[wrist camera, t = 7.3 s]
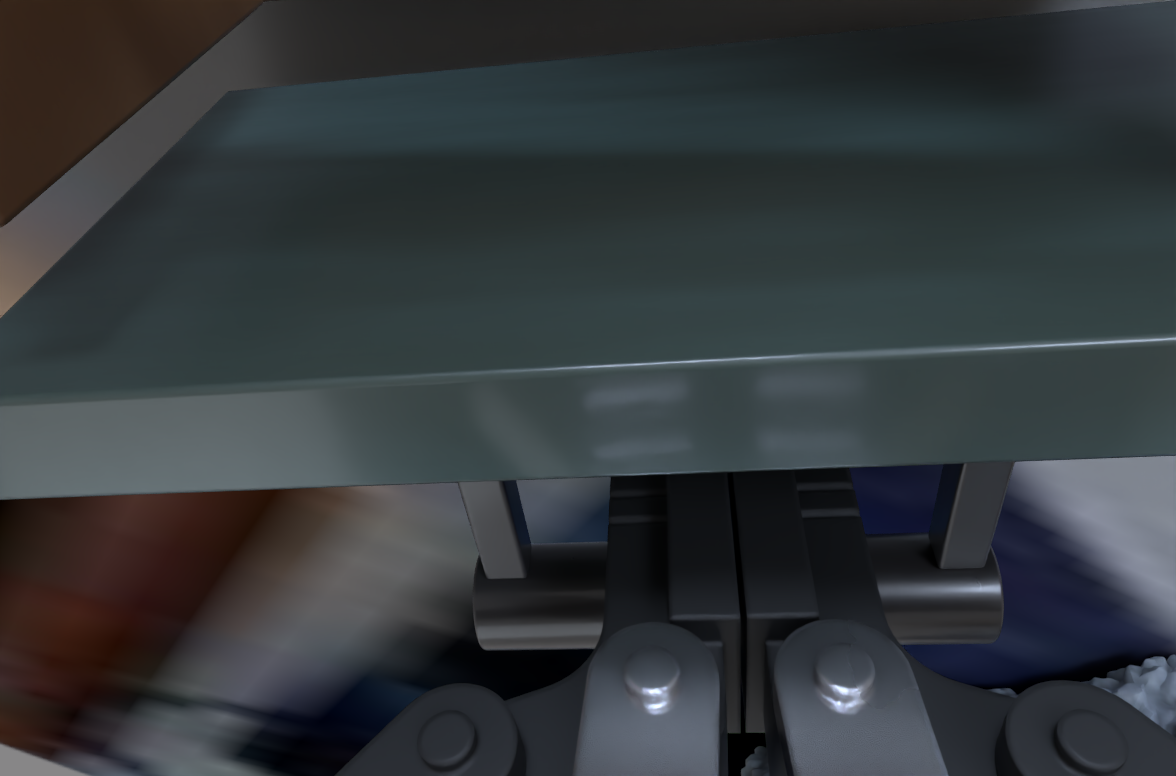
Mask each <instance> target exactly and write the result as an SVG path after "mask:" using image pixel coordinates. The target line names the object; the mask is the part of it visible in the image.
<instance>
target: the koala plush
mask: <svg viewBox="0 0 1176 776" xmlns="http://www.w3.org/2000/svg"><path fill="white" fill-rule="evenodd" d="M1082 683H1086V684H1091V685H1093V686H1096V687H1099V688H1102V689H1104V690H1106V691H1108V692H1110V693H1112V694H1114V695H1116V696H1118V697H1120V698H1121V699H1123V700H1124V701H1126V702H1128V703H1129V704H1131V705H1132V706H1133V707H1135V708H1136V709H1137V710H1139V711H1140V712H1142V713H1143V714H1144V715H1146V716H1147V717H1148V718H1150V719H1151V720H1152V721H1154V722H1155V723H1157V724H1158V725H1159V726H1161V727H1162V728H1163V729H1165V730H1166V731H1168V732H1169V733H1170V734H1172V735H1173V736H1174V737H1176V655H1170V656H1169V658H1168V659H1167V661H1166V659H1165V658H1164V657H1156V656H1155V657H1152V658H1148V659H1145V660H1144V661H1143V663H1142V665H1141V667H1139V666H1134V665H1129V666H1127V667H1126V668H1120V669H1118V670H1115V671H1110V672H1108V673H1107V678H1105V679H1101V678H1096V677H1094V678H1093V679H1092V680H1091V681H1085V682H1082ZM989 691H992V692H996V693H999V694H1003V695H1006V696H1010V697H1013V698H1017V696H1018V695H1019V694H1018V695H1017V694H1016V693H1015V692H1014V691H1013V690H1012V689H1010V688H1000V689H989ZM741 776H769V767H768V757H767V748H765V747H763V746H758V747H757V748H756V749H755V754H751V755H750V756H749V757H748V758H747V759H746V766H745V767H744V768H743V769H741Z"/></svg>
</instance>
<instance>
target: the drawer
mask: <svg viewBox="0 0 1176 776" xmlns="http://www.w3.org/2000/svg"><path fill="white" fill-rule="evenodd" d="M269 1H278V0H0V227H3V226H4V225H6V224H7V223H8V222H10V221H11V220H12V219H13V218H14V217H15V216H17V215H18V214H19V213H20V212H21V211H22V210H24V209H25V208H26V207H27V206H28V205H29V204H30V203H32V202H33V201H34V200H35V199H36V198H37V197H39V196H40V195H41V194H42V193H43V192H44V191H46V190H47V189H48V188H49V187H50V186H51V185H53V184H54V183H55V182H56V181H57V180H58V179H60V178H61V177H62V176H63V175H64V174H65V173H67V172H68V171H69V170H70V169H71V168H72V167H73V166H75V165H76V164H77V163H78V162H79V161H80V160H82V159H83V158H84V157H85V156H86V155H87V154H89V153H90V152H91V151H92V150H93V149H94V148H96V147H97V146H98V145H99V144H100V143H101V142H103V141H104V140H105V139H106V138H107V137H108V136H110V135H111V134H112V133H113V132H114V131H115V130H116V129H118V128H119V127H120V126H121V125H122V124H123V123H125V122H126V121H127V120H128V119H129V118H130V117H132V116H133V115H134V114H135V113H136V112H137V111H139V110H140V109H141V108H142V107H143V106H144V105H146V104H147V103H148V102H149V101H150V100H151V99H153V98H154V97H155V96H156V95H157V94H158V93H159V92H161V91H162V90H163V89H164V88H165V87H166V86H168V85H169V84H170V83H171V82H172V81H173V80H175V79H176V78H177V77H178V76H179V75H180V74H182V73H183V72H184V71H185V70H186V69H187V68H189V67H190V66H191V65H192V64H193V63H194V62H196V61H197V60H198V59H199V58H200V57H201V56H202V55H204V54H205V53H206V52H207V51H208V50H209V49H211V48H212V47H213V46H214V45H215V44H216V43H218V42H219V41H220V40H221V39H222V38H223V37H225V36H226V35H227V34H228V33H229V32H230V31H232V30H233V29H234V28H235V27H236V26H237V25H239V24H240V23H241V22H242V21H243V20H244V19H245V18H247V17H248V16H249V15H250V14H251V13H252V12H254V11H255V10H256V9H257V8H258V7H259V6H261V5H262V4H263V2H269ZM1150 456H1176V0H1175V1H1165V2H1154V3H1144V4H1134V5H1123V6H1113V7H1102V8H1092V9H1081V10H1071V11H1061V12H1050V13H1040V14H1029V15H1019V16H1009V17H998V18H988V19H977V20H967V21H956V22H946V23H936V24H925V25H915V26H904V27H894V28H883V29H873V30H863V31H852V32H842V33H831V34H821V35H811V36H800V37H790V38H779V39H769V40H758V41H748V42H738V43H727V44H717V45H706V46H696V47H685V48H675V49H665V50H654V51H644V52H633V53H623V54H613V55H602V56H592V57H581V58H571V59H560V60H550V61H540V62H529V63H519V64H508V65H498V66H487V67H477V68H467V69H456V70H446V71H435V72H425V73H415V74H404V75H394V76H383V77H373V78H362V79H352V80H342V81H331V82H321V83H310V84H300V85H289V86H279V87H269V88H258V89H248V90H237V91H229V92H227V93H226V94H225V95H224V96H223V97H222V98H221V99H220V100H219V101H218V102H217V103H216V104H215V105H214V106H213V107H212V108H211V109H210V110H209V111H208V112H207V113H206V114H205V115H204V116H203V117H202V118H201V119H200V120H199V121H198V122H197V123H196V124H195V125H194V126H193V127H192V128H191V129H190V130H189V131H188V132H187V133H186V134H185V135H184V136H183V137H182V138H181V139H180V140H179V141H178V142H177V143H176V144H175V145H174V146H173V147H172V148H171V149H170V150H169V151H168V152H167V153H166V154H165V155H164V156H163V157H162V158H161V159H160V160H159V161H158V162H157V163H156V164H155V165H154V166H153V167H152V168H151V169H150V170H149V171H148V172H147V173H146V174H145V175H144V176H143V177H142V178H141V179H140V180H139V181H138V182H137V183H136V184H135V185H134V186H133V187H132V188H131V189H130V190H129V191H128V192H127V193H126V194H125V195H124V196H123V197H121V198H120V199H119V200H118V201H117V202H116V203H115V204H114V205H113V206H112V207H111V208H110V209H109V210H108V211H107V212H106V213H105V214H104V215H103V216H102V217H101V218H100V219H99V220H98V221H97V222H96V223H95V224H94V225H93V226H92V227H91V228H90V229H89V230H88V231H87V232H86V233H85V234H84V235H83V236H82V237H81V238H80V239H79V240H78V241H77V242H76V243H75V244H74V245H73V246H72V247H71V248H70V249H69V250H68V251H67V252H66V253H65V254H64V255H63V256H62V257H61V258H60V259H59V260H58V261H57V262H56V263H55V264H54V265H53V266H52V267H51V268H50V269H49V270H48V271H47V272H46V273H45V274H44V275H43V276H42V277H41V278H40V279H39V280H38V281H37V282H36V283H35V284H34V285H33V286H32V287H31V288H30V289H29V290H28V291H27V292H26V293H25V294H24V295H23V296H22V297H21V298H20V299H19V300H18V301H17V302H16V303H15V304H14V305H13V306H12V307H11V308H10V309H9V310H8V311H7V312H6V313H5V314H4V315H3V316H2V317H1V318H0V500H2V499H29V498H55V497H82V496H109V495H135V494H162V493H189V492H216V491H242V490H269V489H296V488H322V487H349V486H376V485H402V484H429V483H456V482H457V483H458V486H459V489H460V493H461V496H462V499H463V502H464V506H465V509H466V512H467V516H468V519H469V522H470V526H471V529H472V532H473V535H474V539H475V542H476V545H477V549H478V552H479V556H478V559H477V563H476V568H475V574H474V583H473V616H474V625H475V630H476V635H477V638H478V641H479V644H480V646H481V647H482V648H483V649H484V650H556V649H595V647H596V645H597V643H598V641H599V638H600V635H601V632H602V627H603V620H604V601H605V581H606V562H607V542H575V543H540V544H531V542H530V538H529V533H528V529H527V525H526V521H525V517H524V513H523V509H522V504H521V500H520V496H519V492H518V488H517V484H516V480H536V479H563V478H589V477H616V476H643V475H669V474H696V473H723V472H750V471H776V470H803V469H830V468H856V467H883V466H910V465H936V464H944V465H943V470H942V474H941V479H940V484H939V488H938V493H937V498H936V502H935V507H934V512H933V516H932V521H931V526H930V530H929V532H927V533H892V534H865V536H866V540H867V544H868V548H869V552H870V556H871V560H872V564H873V569H874V573H875V577H876V581H877V585H878V589H879V593H880V597H881V601H882V605H883V610H884V614H885V617H886V620H887V623H888V626H889V627H890V629H891V631H892V633H893V635H894V636H895V638H896V639H897V641H898V642H899V643H900V645H924V644H990V643H993V642H995V641H996V640H997V639H998V637H999V635H1000V632H1001V628H1002V623H1003V612H1004V600H1003V588H1002V581H1001V575H1000V571H999V567H998V563H997V560H996V557H995V554H994V551H993V549H992V547H991V543H992V539H993V536H994V532H995V529H996V525H997V522H998V519H999V515H1000V512H1001V508H1002V505H1003V501H1004V498H1005V494H1006V491H1007V487H1008V484H1009V480H1010V477H1011V473H1012V470H1013V466H1014V463H1015V462H1017V461H1043V460H1070V459H1097V458H1123V457H1150Z"/></svg>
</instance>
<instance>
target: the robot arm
mask: <svg viewBox="0 0 1176 776" xmlns="http://www.w3.org/2000/svg"><path fill="white" fill-rule="evenodd" d="M740 668H741V679H742V691H743V702H744V714H745V725H746V733H765V738H766V747H767V757H768V767H769V776H1176V737H1174V736H1173V735H1172V734H1170V733H1169V732H1168V731H1166V730H1165V729H1163V728H1162V727H1161V726H1159V725H1158V724H1157V723H1155V722H1154V721H1152V720H1151V719H1150V718H1148V717H1147V716H1146V715H1144V714H1143V713H1142V712H1140V711H1139V710H1137V709H1136V708H1135V707H1133V706H1132V705H1131V704H1129V703H1128V702H1126V701H1124V700H1123V699H1121V698H1120V697H1118V696H1116V695H1114V694H1112V693H1110V692H1108V691H1106V690H1104V689H1102V688H1099V687H1096V686H1093V685H1091V684H1086V683H1082V682H1078V681H1068V680H1054V681H1047V682H1042V683H1038V684H1036V685H1034V686H1031V687H1029V688H1027V689H1026V690H1025V691H1023V692H1022V693H1020V694H1019V695H1018V696H1017V698H1013V697H1010V696H1006V695H1003V694H999V693H996V692H992V691H989V690H985V689H981V688H978V687H974V686H971V685H967V684H964V683H960V682H957V681H954V680H951V679H949V678H946V677H944V676H942V675H940V674H937V673H935V672H933V671H932V670H930V669H929V668H927V667H925V666H924V665H922V664H921V663H919V662H918V661H917V660H916V659H915V658H913V657H912V656H911V655H910V654H909V653H908V652H907V651H906V650H905V649H904V648H903V647H902V646H901V645H900V643H899V642H898V641H897V639H896V638H895V636H894V635H893V633H892V631H891V629H890V627H889V626H888V623H887V620H886V617H885V614H884V610H883V605H882V601H881V597H880V593H879V589H878V585H877V581H876V577H875V573H874V569H873V564H872V560H871V556H870V552H869V548H868V544H867V540H866V536H865V532H864V528H863V523H862V519H861V517H860V516H859V507H858V503H857V499H856V495H855V491H854V490H853V482H852V478H851V474H850V470H849V468H830V469H803V470H776V471H750V472H723V473H696V474H669V475H643V476H616V477H611V483H610V503H609V525H608V542H607V562H606V581H605V601H604V620H603V627H602V632H601V635H600V638H599V641H598V643H597V645H596V647H595V649H594V651H593V652H592V654H591V655H590V656H589V658H588V659H587V660H586V661H585V662H584V663H583V664H582V665H581V666H580V668H578V669H577V670H576V671H575V672H573V673H572V674H571V675H569V676H568V677H566V678H564V679H563V680H561V681H559V682H557V683H555V684H552V685H550V686H547V687H545V688H542V689H539V690H536V691H533V692H530V693H527V694H524V695H521V696H518V697H515V698H512V699H509V700H506V701H504V700H503V699H502V698H501V697H500V696H499V695H497V694H496V693H494V692H493V691H491V690H489V689H487V688H485V687H482V686H479V685H475V684H469V683H456V684H448V685H444V686H441V687H437V688H435V689H433V690H430V691H428V692H426V693H424V694H423V695H421V696H420V697H418V698H416V699H415V700H414V701H413V702H411V703H410V704H409V705H408V706H407V707H406V708H405V709H404V710H403V711H401V712H400V713H399V714H398V715H397V716H396V717H395V718H394V719H393V720H392V721H391V722H390V723H389V724H388V725H387V726H386V727H385V728H384V729H383V730H382V731H381V732H380V733H379V734H377V735H376V736H375V737H374V738H373V739H372V740H371V741H370V742H369V743H368V744H367V745H366V746H365V747H364V748H363V749H362V750H361V751H360V752H359V753H358V754H357V755H356V756H355V757H353V758H352V759H351V760H350V761H349V762H348V763H347V764H346V765H345V766H344V767H343V768H342V769H341V770H340V771H339V772H338V773H337V774H336V775H335V776H728V742H727V733H741V723H740Z"/></svg>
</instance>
